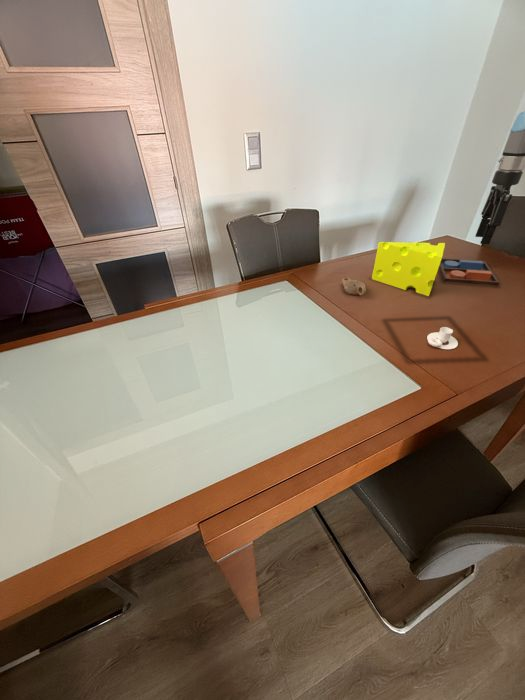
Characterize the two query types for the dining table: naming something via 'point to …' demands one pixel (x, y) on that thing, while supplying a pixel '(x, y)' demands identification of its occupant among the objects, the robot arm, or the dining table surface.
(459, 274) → the terracotta spoon
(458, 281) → the cutlery tray
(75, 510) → the dining table surface
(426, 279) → the cheese wedge
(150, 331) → the dining table surface
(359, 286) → the oil lamp
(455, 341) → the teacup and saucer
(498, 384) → the dining table surface
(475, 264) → the blue spoon
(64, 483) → the dining table surface
